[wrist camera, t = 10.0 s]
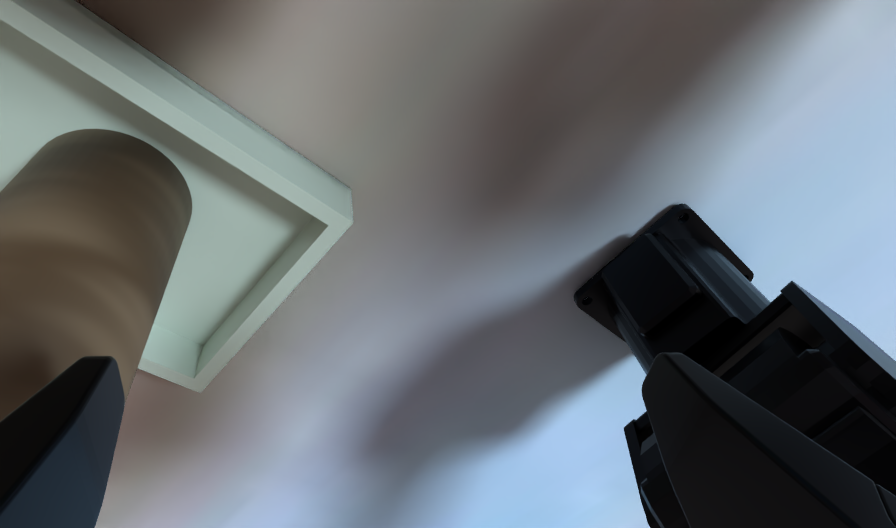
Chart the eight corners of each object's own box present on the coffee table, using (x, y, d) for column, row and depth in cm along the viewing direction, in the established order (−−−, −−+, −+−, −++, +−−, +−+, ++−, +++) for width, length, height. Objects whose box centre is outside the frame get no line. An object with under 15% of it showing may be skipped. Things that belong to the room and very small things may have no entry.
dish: (351, 189, 22) (353, 222, 20) (210, 350, 25) (200, 393, 23) (-39, -77, 15) (-95, -68, 13) (-159, 187, 19) (-218, 226, 17)
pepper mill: (220, 187, 20) (70, 680, 8) (147, 278, 22) (-65, 799, 10) (72, 97, 18) (-452, 620, 6) (2, 207, 19) (-519, 795, 7)
